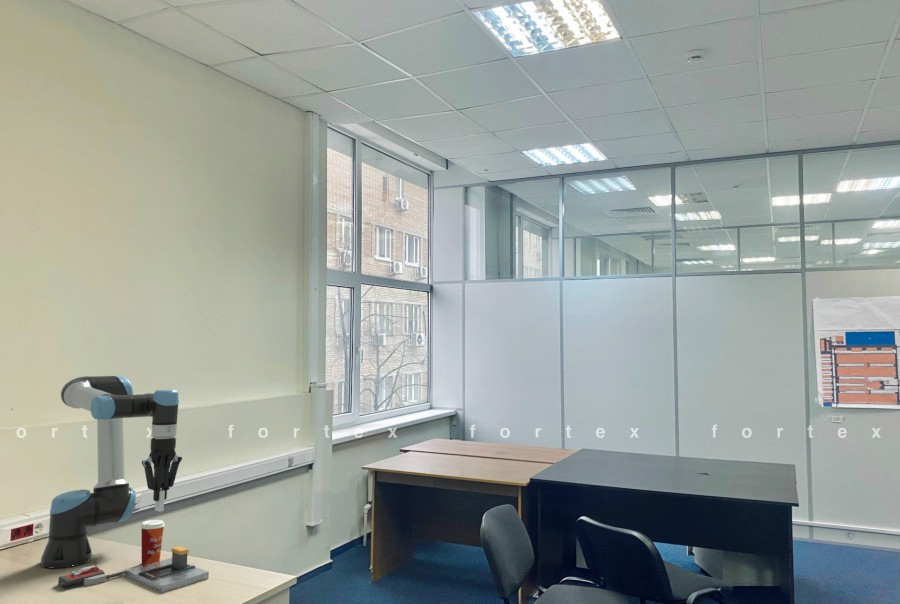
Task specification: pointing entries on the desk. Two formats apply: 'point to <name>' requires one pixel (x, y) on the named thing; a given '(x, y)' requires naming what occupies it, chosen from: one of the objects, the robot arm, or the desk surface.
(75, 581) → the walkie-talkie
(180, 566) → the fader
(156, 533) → the paper cup
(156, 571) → the console board
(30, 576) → the desk surface
